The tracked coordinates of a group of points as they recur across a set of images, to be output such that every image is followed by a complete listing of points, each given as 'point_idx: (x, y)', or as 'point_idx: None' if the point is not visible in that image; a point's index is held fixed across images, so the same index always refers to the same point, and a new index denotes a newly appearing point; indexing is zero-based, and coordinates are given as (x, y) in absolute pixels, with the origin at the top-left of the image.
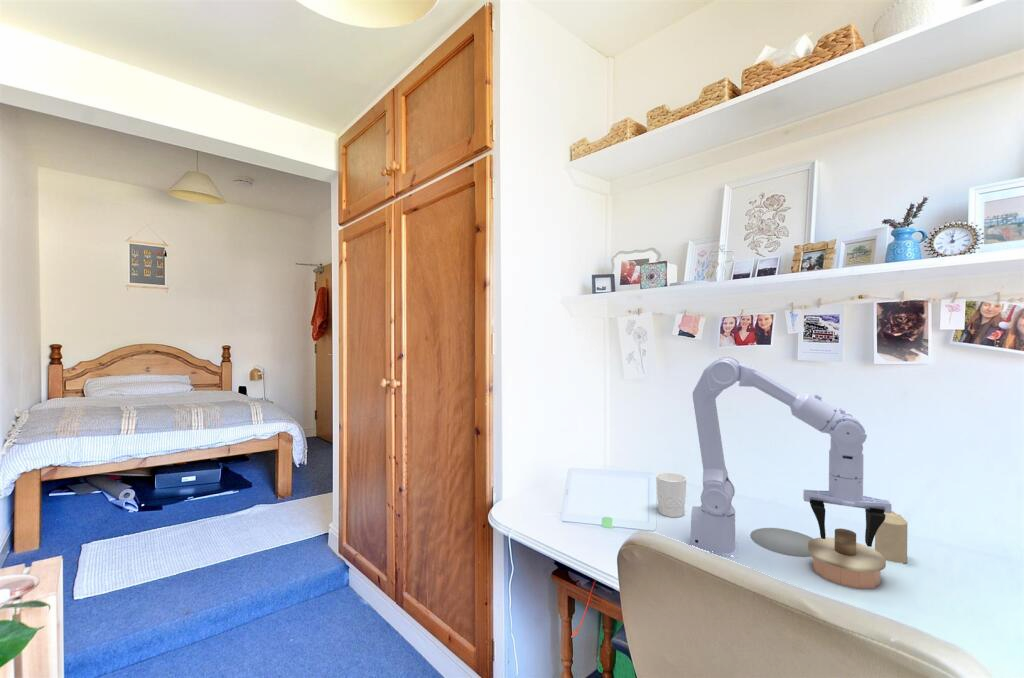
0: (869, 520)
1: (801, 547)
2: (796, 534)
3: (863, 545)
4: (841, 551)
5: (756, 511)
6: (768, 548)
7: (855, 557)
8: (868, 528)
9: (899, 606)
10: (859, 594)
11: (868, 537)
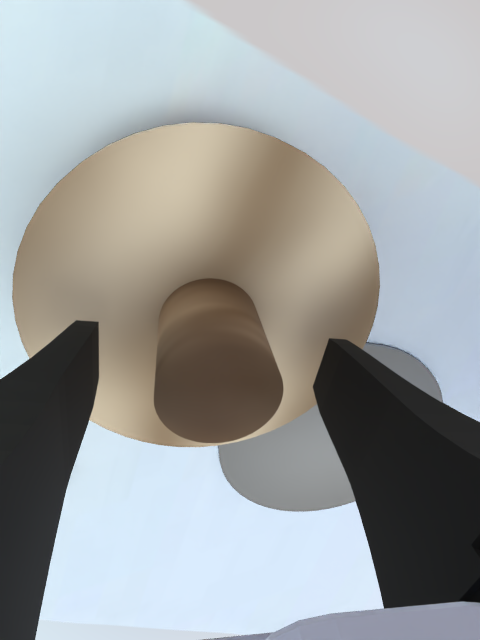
0: (23, 473)
1: (297, 418)
2: (278, 493)
3: (99, 420)
4: (240, 294)
5: (335, 576)
6: (417, 373)
7: (175, 267)
8: (59, 421)
9: (20, 2)
10: (190, 89)
11: (79, 348)
